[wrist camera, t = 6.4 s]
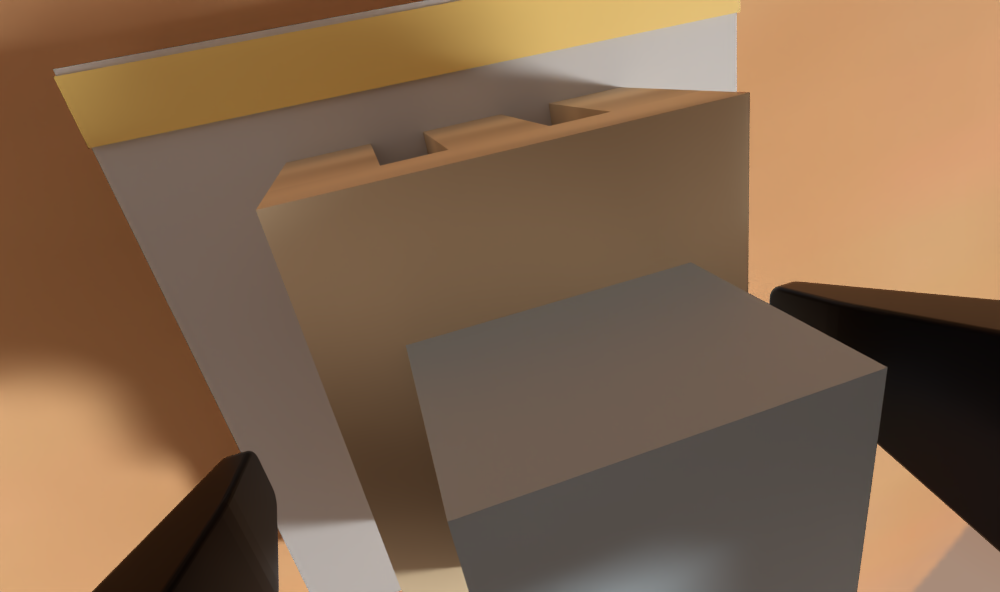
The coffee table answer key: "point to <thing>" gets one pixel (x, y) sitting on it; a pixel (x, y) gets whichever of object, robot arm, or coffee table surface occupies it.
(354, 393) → the pallet
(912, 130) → the coffee table surface
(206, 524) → the robot arm
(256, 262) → the dock
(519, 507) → the grey square block
